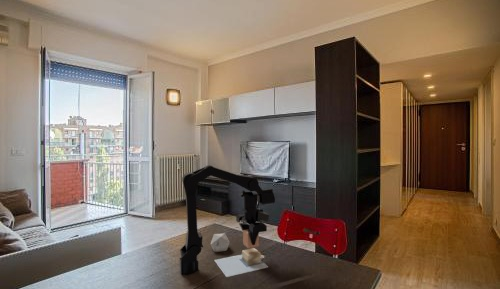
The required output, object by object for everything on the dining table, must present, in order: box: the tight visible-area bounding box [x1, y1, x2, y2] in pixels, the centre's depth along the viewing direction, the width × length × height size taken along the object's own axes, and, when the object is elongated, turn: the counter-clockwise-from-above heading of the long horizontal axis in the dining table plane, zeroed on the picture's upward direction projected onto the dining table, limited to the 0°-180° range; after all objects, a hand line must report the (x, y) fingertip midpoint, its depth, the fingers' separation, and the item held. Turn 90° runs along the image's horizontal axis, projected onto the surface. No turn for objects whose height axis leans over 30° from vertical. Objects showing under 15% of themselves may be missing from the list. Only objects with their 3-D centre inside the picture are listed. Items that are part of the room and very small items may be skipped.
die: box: [210, 232, 231, 253], centre depth 125 cm, size 8×9×10 cm
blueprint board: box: [214, 254, 269, 278], centre depth 110 cm, size 18×16×1 cm
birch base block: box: [241, 247, 262, 265], centre depth 112 cm, size 6×6×4 cm
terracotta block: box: [242, 229, 260, 249], centre depth 112 cm, size 5×5×6 cm
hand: (250, 242), depth 112 cm, fingers closed on terracotta block, 5 cm apart
